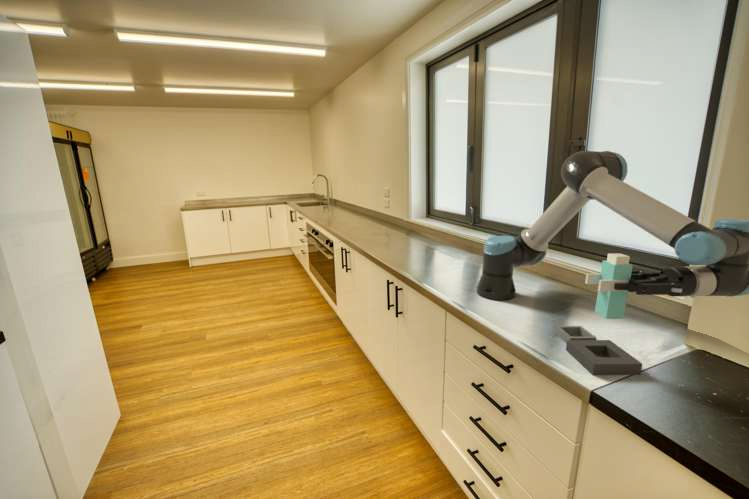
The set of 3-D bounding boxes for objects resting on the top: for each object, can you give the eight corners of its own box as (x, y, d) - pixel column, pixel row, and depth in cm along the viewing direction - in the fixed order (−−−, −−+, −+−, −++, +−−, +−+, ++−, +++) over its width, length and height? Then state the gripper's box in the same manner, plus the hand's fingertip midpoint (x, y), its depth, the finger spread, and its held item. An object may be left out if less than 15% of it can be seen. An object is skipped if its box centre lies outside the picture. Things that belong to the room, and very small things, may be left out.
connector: (594, 311, 90) (603, 252, 86) (611, 311, 90) (621, 252, 87) (606, 318, 86) (616, 257, 82) (623, 318, 86) (634, 257, 82)
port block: (565, 349, 97) (567, 340, 96) (607, 349, 97) (609, 340, 96) (592, 374, 85) (594, 364, 84) (640, 374, 85) (642, 363, 84)
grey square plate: (555, 333, 106) (556, 326, 106) (579, 333, 106) (580, 326, 106) (569, 345, 99) (570, 338, 98) (595, 345, 99) (596, 337, 98)
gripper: (715, 309, 79) (614, 309, 78) (654, 284, 96) (571, 284, 95) (723, 277, 77) (620, 278, 77) (659, 258, 94) (574, 258, 94)
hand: (593, 282), depth 86 cm, fingers closed on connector, 4 cm apart
